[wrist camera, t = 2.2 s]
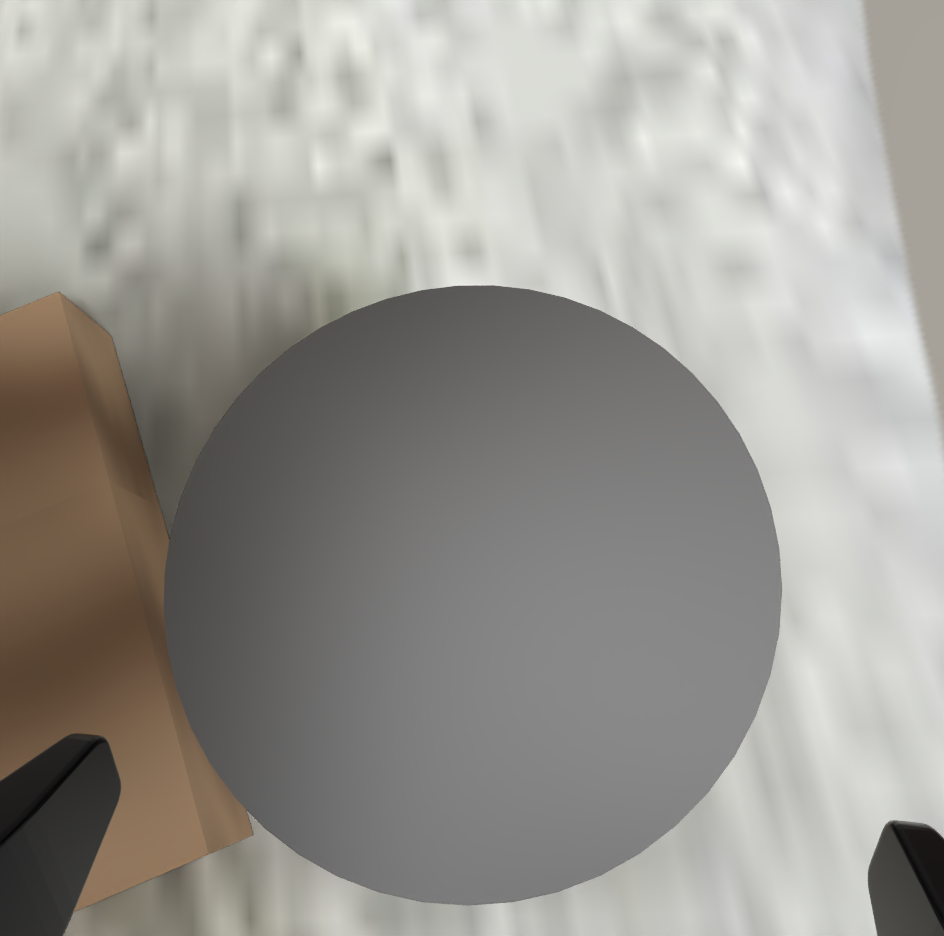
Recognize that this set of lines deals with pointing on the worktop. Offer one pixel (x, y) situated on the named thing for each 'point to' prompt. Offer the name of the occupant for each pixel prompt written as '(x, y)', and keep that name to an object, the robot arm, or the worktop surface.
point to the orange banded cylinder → (472, 595)
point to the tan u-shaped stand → (93, 598)
